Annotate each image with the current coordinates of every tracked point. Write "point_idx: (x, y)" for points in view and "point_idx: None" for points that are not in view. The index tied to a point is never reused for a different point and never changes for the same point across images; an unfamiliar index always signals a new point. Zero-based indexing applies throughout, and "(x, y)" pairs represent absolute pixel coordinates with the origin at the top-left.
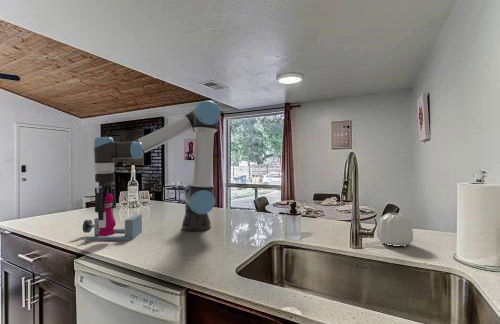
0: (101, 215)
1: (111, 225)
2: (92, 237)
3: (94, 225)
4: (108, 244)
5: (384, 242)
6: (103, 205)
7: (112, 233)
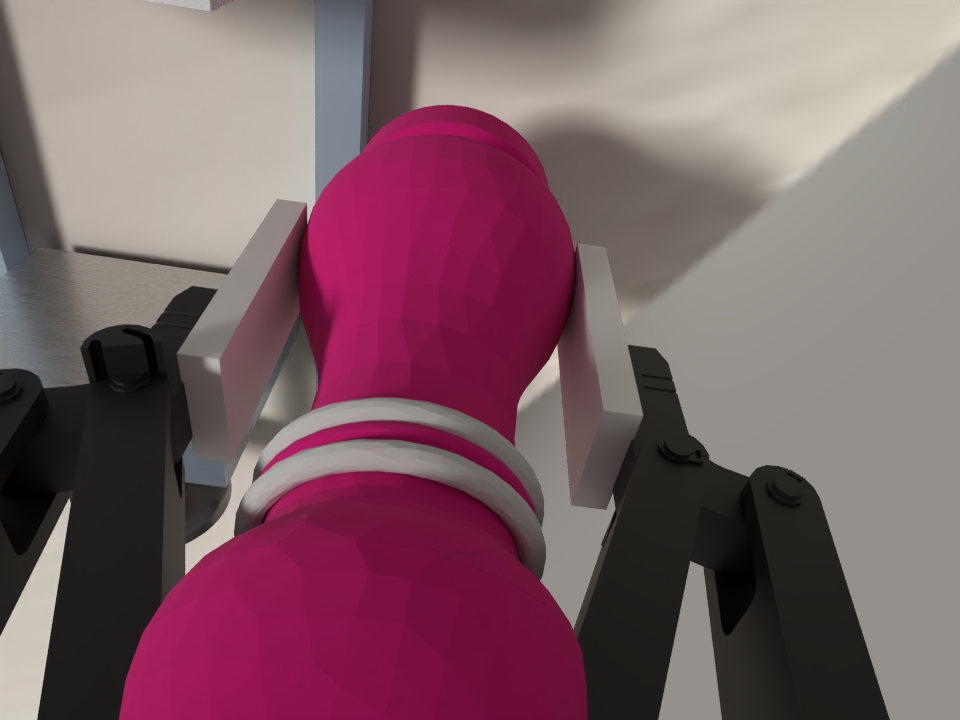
0: (679, 413)
1: (534, 178)
2: None
3: (254, 424)
4: (526, 125)
5: None
6: (686, 556)
7: (498, 124)
